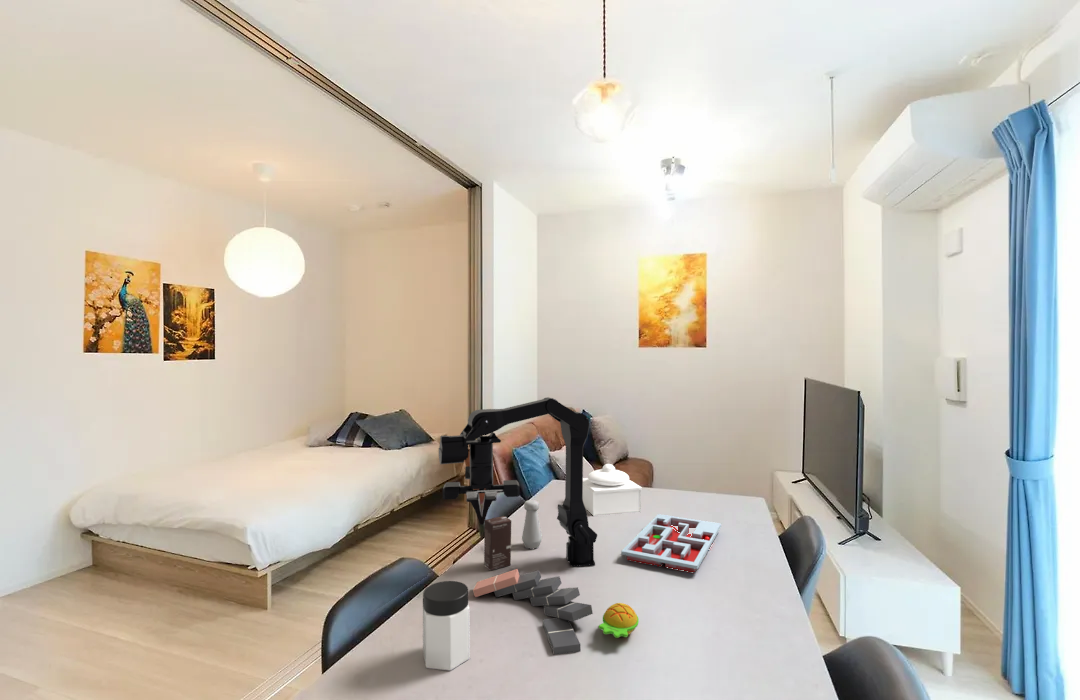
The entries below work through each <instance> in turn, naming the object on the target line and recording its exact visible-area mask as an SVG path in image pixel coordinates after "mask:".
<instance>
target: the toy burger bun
mask: <svg viewBox="0 0 1080 700" xmlns="http://www.w3.org/2000/svg"><path fill="white" fill-rule="evenodd" d="M602 622H603V623H601V624H599V625H598V629H599V630H601V631H602V633H603V635H610V634H611V635H612V636H613V637H614V638H616V639H618V638H620V637H623V638H628V637H629V635H630V634H631V633H633V632H634V631H635V629H636V628H637V627H638V625H639V622H640V621H639V616H638V615H637V613H636V612H635V610H634V609H633V607H632V606H630V605H628V604H626V603H623V602H615V603H614V604H612V605H610V606H608V608H607V609H606V611H605V612H604V613H603V615H602Z"/></svg>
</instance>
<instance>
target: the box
mask: <svg viewBox="0 0 1080 700" xmlns="http://www.w3.org/2000/svg"><path fill="white" fill-rule="evenodd" d="M483 538H484V546H483V547H484V548H483V549H484V551H483V552H484V553H483V558H484V560H483V565H484V567H485V566H486V568H487V569H488V570H489V571H494V570H498V569H502V568H505V567H509V566H511V563H512V561H511V560H512V559H511V556H512V552H511V551H512V520H511V519H510V518H508V517H507V516H505V515H502V516H497V517H492V518H489V519H485V521H484V537H483Z"/></svg>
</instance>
